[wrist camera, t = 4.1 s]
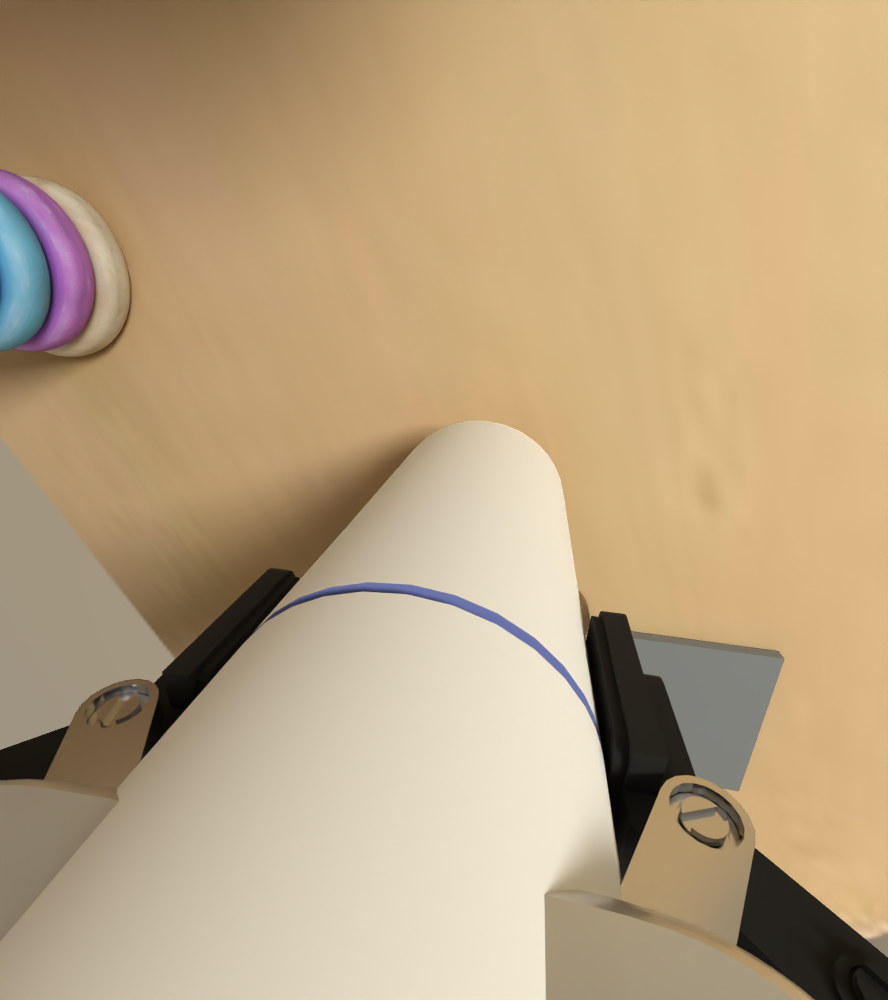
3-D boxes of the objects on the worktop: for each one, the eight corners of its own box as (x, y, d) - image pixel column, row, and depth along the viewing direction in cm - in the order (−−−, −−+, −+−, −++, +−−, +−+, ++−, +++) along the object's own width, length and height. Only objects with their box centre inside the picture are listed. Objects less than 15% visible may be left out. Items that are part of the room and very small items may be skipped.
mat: (596, 626, 26) (597, 633, 25) (778, 651, 24) (784, 658, 24) (573, 753, 29) (574, 762, 28) (734, 781, 27) (738, 791, 27)
